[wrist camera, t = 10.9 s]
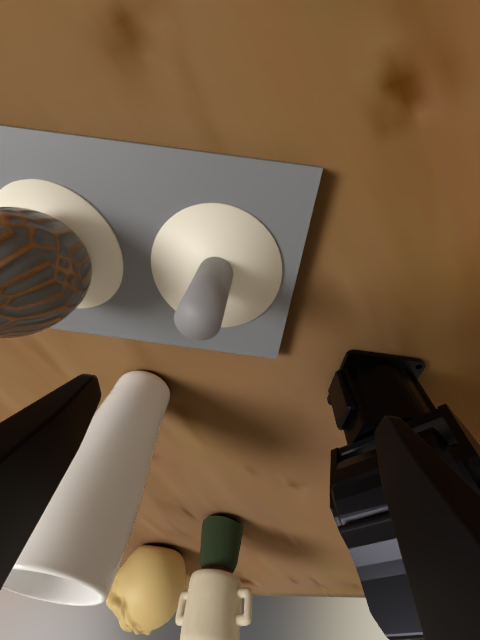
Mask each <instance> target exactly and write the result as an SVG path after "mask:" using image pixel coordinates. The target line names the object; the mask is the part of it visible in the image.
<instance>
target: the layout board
mask: <svg viewBox="0 0 480 640" xmlns="http://www.w3.org/2000/svg"><path fill="white" fill-rule="evenodd" d="M322 171H323V168H322V167H320V166H313V165H305V164H297V163H290V162H282V161H275V160H267V159H259V158H252V157H244V156H236V155H229V154H221V153H214V152H206V151H198V150H191V149H183V148H176V147H168V146H160V145H153V144H145V143H137V142H130V141H122V140H115V139H107V138H99V137H92V136H84V135H76V134H69V133H61V132H54V131H46V130H38V129H31V128H23V127H16V126H8V125H0V207H19V208H26V209H31V210H35V211H39V212H42V213H45V214H48V215H50V216H52V217H54V218H56V219H57V220H59V221H61V222H62V223H63V224H65V225H66V226H68V227H69V228H70V229H71V230H72V231H73V232H74V233H75V234H76V235H77V236H78V237H79V238H80V240H81V241H82V242H83V244H84V246H85V247H86V249H87V252H88V254H89V257H90V261H91V265H92V277H91V283H90V286H89V289H88V291H87V293H86V295H85V297H84V299H83V300H82V302H81V303H80V304H79V305H78V306H77V308H76V309H75V310H74V311H73V312H72V313H71V314H69V315H68V316H67V317H66V318H64V319H63V320H62V321H60V322H59V323H57V324H55V325H53V326H51V327H49V328H53V329H60V330H68V331H75V332H82V333H90V334H97V335H104V336H111V337H119V338H126V339H133V340H141V341H148V342H155V343H163V344H170V345H177V346H185V347H192V348H199V349H206V350H214V351H221V352H228V353H236V354H243V355H250V356H258V357H265V358H272V359H277V356H278V352H279V348H280V344H281V340H282V336H283V332H284V328H285V323H286V319H287V315H288V311H289V307H290V303H291V299H292V295H293V290H294V286H295V282H296V278H297V274H298V270H299V266H300V262H301V257H302V253H303V249H304V245H305V241H306V237H307V233H308V229H309V224H310V220H311V216H312V212H313V208H314V204H315V200H316V196H317V191H318V187H319V183H320V179H321V175H322Z"/></svg>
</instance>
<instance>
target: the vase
mask: <svg viewBox="0 0 480 640" xmlns="http://www.w3.org/2000/svg"><path fill="white" fill-rule="evenodd" d="M91 277H92V265H91V261H90V257H89V254H88V252H87V249H86V247H85V246H84V244H83V242H82V241H81V240H80V238H79V237H78V236H77V235H76V234H75V233H74V232H73V231H72V230H71V229H70V228H69V227H68V226H66V225H65V224H63V223H62V222H61V221H59V220H57V219H56V218H54V217H52V216H50V215H48V214H45V213H42V212H39V211H35V210H31V209H26V208H19V207H0V338H13V337H21V336H26V335H30V334H33V333H37V332H39V331H42V330H44V329H47V328H49V327H51V326H53V325H55V324H57V323H59V322H60V321H62V320H63V319H64V318H66V317H67V316H68V315H69V314H71V313H72V312H73V311H74V310H75V309H76V308H77V306H78V305H79V304H80V303H81V302H82V300H83V299H84V297H85V295H86V293H87V291H88V289H89V286H90V283H91Z"/></svg>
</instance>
